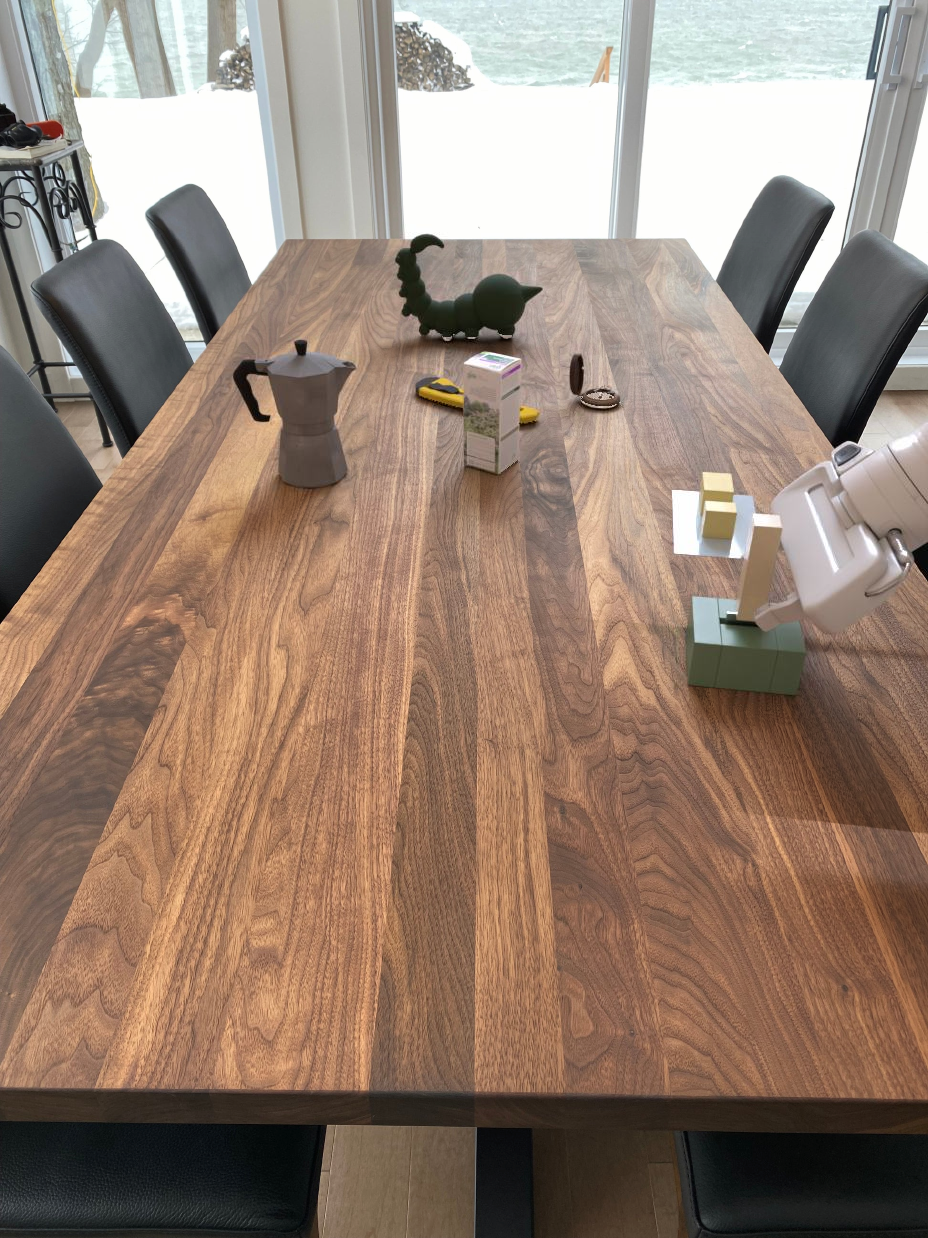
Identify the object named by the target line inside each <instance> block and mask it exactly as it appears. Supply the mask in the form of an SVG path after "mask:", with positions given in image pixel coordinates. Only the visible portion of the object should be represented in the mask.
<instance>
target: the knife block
mask: <svg viewBox="0 0 928 1238" xmlns="http://www.w3.org/2000/svg"><path fill="white" fill-rule="evenodd" d="M735 603H736V599H733V598H723V597H722V598H720V597H718V598H717V597H707V596H696V595H691V599H690V605H689V611H688V617H687V624H686V630H685V639H684V640H685V657H686V659H685V660H686V661H685V662H686V683H687V686H694V687H704V688H714V689H715V688H716V689H724V690H732V691H733V690H734V691H745V692H754V693H764V694H776V695H784V696H785V695H787V696H796V695H797V693H798V690H799V685H800V682H801V677H802V674H803V669H804V666H805V661H806V657H807V653H808V652H807V648H806V644H805V640H804V634H803V630H802V626H801V621H797V622H790V623H784V624H783V623H782V624H780V625H778V626H777V627H775V628H774V629H772V630H770V631H768V632H764V631H763V630H762V629H761V628H760V627H749V626H738V625H726V624H725V619H726V613H727V612H736V611H735ZM769 603H770V604H771V605H774V604H777V603H778V602H769Z"/></svg>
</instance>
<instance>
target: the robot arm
mask: <svg viewBox="0 0 928 1238" xmlns="http://www.w3.org/2000/svg"><path fill="white" fill-rule="evenodd" d="M830 458H831V460H824V461H822V462H820V463H818V464H816V465H815V466H813V467H811V468H810V469H809V470H807V471H806V472H804V473H803V474H801V475H800V476H798V478H796V479H795V480H793V481H792V482H791V483H789V484H788V485H787V486H786V487H784V488H783V489H782V490H781V491H779V493H777V495H775V497H774V498H773V500H772V501H771V504H770V506H769V510H770V512H771V515H779V516H780V519H781V523H782V528H783V529H782V534H781V538H780V543H779V548H778V551H781V552H784V556H785V559H786V561H787V565H788V568H789V571H790V575H791V577H792V580H793V584H794V587H795V590H794V591H792V592H790V593H789V594H787V595H786V600H784V601H779V602H776V603H777V604H774V605H771V604H770V603H771V602H770V601H767V602H766V603H765V604H763V605H762V606H761V607H760V608H757V609H755V610H754V618H755V622H756V624H757V625H758V626H759V627H760V628H761V629H762V630H763V631H764V632H768V631H770V630H772V629H774V628H775V627H777V626H778V625H780V624H782V623H783V624H784V623H790V622H797V621H800V622H803V621H805V620H806V619H809V620H810V622H811V623H812V624H813V625H814V626H815V627H816V628H817V629H818V630H819V631H820V632H821V633H822V634H823V635H837V634H840V633H842V632H844V631H846V630H847V629H848V628H850V627H852V626H853V625H855V624H856V623H858V622H859V621H861V620H862V619H864V618H865V617H866V616H868V615H869V614H871V613H872V612H874V610H876V609H877V608H879V607H880V606H881V605H883V604H884V603H885V602H886V601H887V600H889V599H890V598H891V597H892V596H893V595H894V594H895V593H896V592H897V590H898V589H899V587H900V585H901V584H903V583H904V582H905V581H906V580H907V578H908V574H909V573H910V571H911V568H912V566H913V565H914V564H915V557H914V554H913V551H915V550H917V549H918V548H920V547H922V546H923V545H925V544H927V543H928V418H927V419H926V421H925V422H923V424H921V425H920V426H919V427H918V428H917V429H915V430H914V431H912V432H910V433H909V434H906V435H904V436H901V437H898V438H896V439H893V440H891V441H888V443H886V444H884V445H883V446H882V447H880V448H879V449H877V450H876V449H873V448H870V447H866V446H863V445H862V444H861V445H860V444H858V443H856V442H854V441H850V440H847V441H845V442H843V443H841V444H840V445H838V446H836V447H835V448H834V449H833V450H832V451H831V452H830ZM744 555H745V553H744V554H743V555H742V556H741V557H740V559H739V560H740V561H739V562H740V564H741V567H742V566H743V560H744Z"/></svg>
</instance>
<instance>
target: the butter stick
mask: <svg viewBox="0 0 928 1238" xmlns="http://www.w3.org/2000/svg"><path fill="white" fill-rule="evenodd" d="M698 492H699V507H700V516H703V511H704V505H705V501H715V502H729V503H732V502H733V496H734V495H735V489H734V483H733V475H732V473H726V472H725V473H724V472H709V471H701V479H700V487H699V491H698Z"/></svg>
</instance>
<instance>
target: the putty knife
mask: <svg viewBox="0 0 928 1238" xmlns="http://www.w3.org/2000/svg"><path fill="white" fill-rule="evenodd" d="M782 529H783V528H782V523H781V519H780V516H779V515H772V514H767V513H766V514H765V513H756V514H754V513H753V514H752V518H751V523H750V529H749V534H748V539H747V545H746V550H745V555H744V560H743V566H742V565H741V572H740V577H739V583H738V587H737V591H736V592H737V593H736V598H735V600H736V603H735V611H736V612H727V613H726V619H725V624H726V625H738V626H749V627H759V626H758V625H757V624H756V622H755V618H754V610H755V609H757V608H760V607H761V606H762V605H763V604H765V603H766V602H768V601H769V595H770V590H771V585H772V582H773V581H772V580H773V575H774V571H775V566H776V563H777V562H776V560H777V557H778V553H779V552H778V551H779V550H778V548H779V543H780V538H781V534H782Z"/></svg>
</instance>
